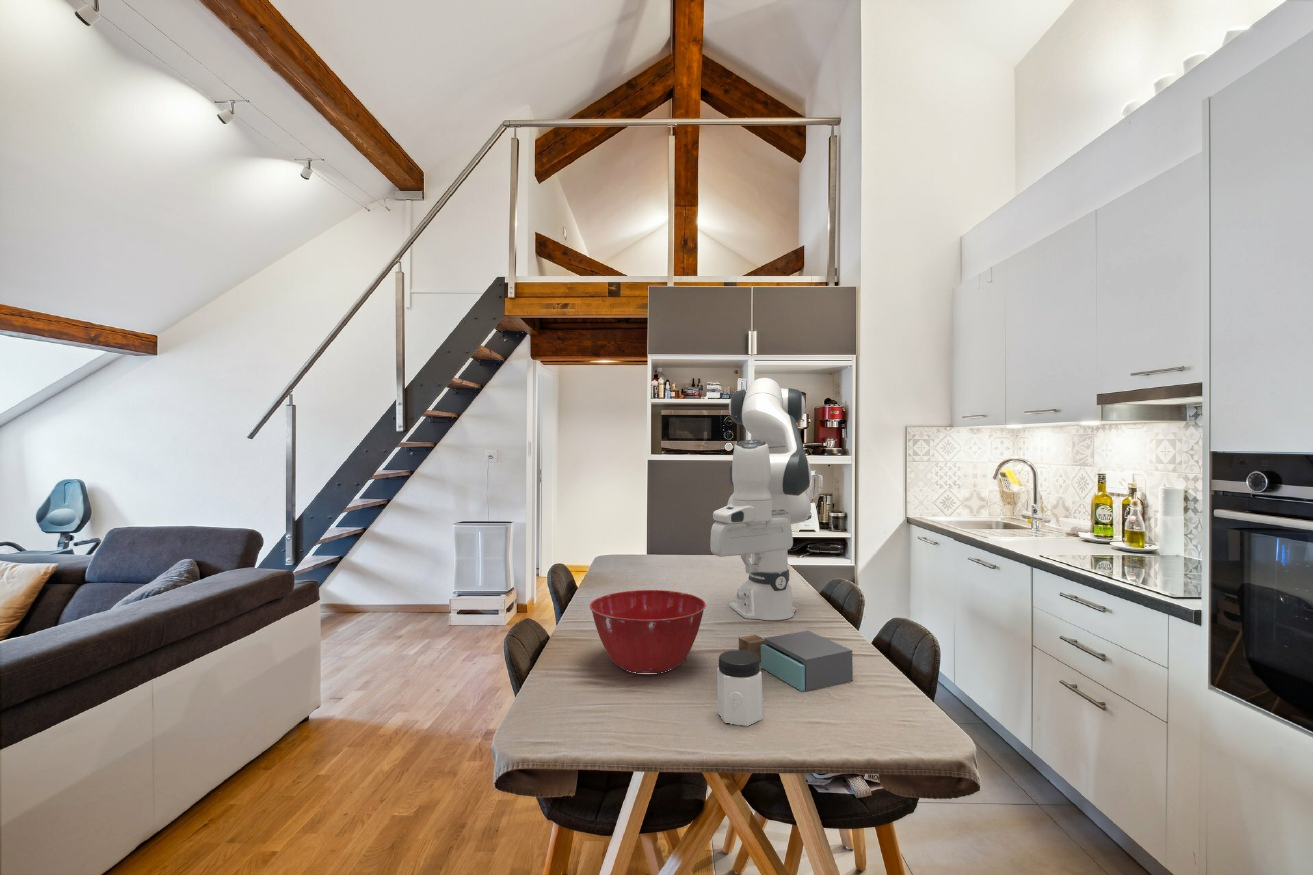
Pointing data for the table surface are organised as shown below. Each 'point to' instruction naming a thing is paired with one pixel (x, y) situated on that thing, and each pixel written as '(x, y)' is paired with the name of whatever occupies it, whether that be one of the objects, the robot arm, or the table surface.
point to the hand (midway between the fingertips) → (753, 572)
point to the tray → (783, 667)
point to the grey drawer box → (816, 658)
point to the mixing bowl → (648, 628)
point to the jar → (739, 687)
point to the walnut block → (751, 644)
